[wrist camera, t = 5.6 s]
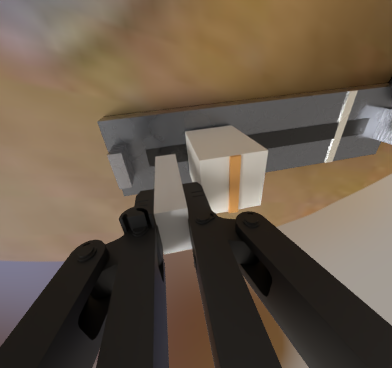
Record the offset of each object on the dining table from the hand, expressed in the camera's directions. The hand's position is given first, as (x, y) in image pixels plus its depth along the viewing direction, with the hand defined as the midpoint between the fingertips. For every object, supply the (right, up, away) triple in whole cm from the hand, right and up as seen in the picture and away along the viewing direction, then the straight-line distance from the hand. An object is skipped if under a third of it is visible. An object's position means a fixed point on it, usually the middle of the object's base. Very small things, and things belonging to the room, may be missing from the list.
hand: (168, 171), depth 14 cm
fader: (+3, +2, +2) cm, 5 cm away
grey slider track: (+8, +4, +5) cm, 10 cm away
